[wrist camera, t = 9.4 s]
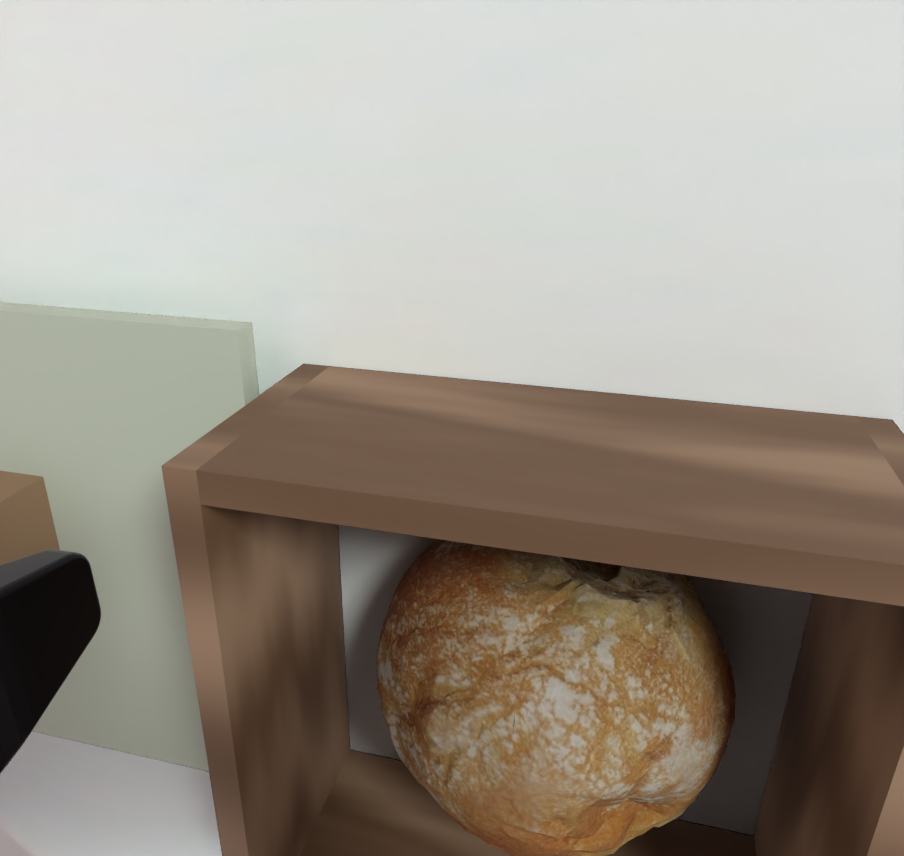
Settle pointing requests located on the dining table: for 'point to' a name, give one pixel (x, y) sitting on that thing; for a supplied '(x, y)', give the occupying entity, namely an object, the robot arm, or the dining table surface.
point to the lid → (115, 498)
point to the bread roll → (553, 695)
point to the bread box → (544, 532)
